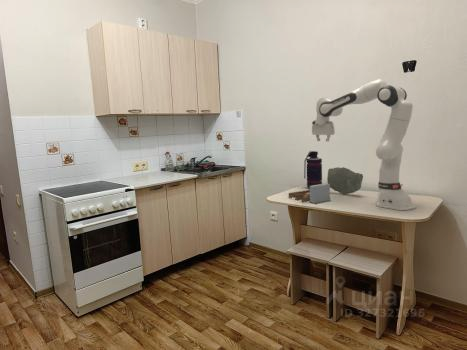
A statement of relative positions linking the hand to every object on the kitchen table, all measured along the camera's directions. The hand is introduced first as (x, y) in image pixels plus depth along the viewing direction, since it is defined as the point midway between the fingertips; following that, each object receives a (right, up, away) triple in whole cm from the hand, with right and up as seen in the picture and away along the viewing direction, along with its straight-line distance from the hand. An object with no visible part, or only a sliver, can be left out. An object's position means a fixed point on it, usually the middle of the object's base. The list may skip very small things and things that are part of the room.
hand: (323, 141), depth 234 cm
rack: (-13, -41, -3) cm, 43 cm away
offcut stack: (-11, -41, -6) cm, 43 cm away
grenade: (+1, -35, +31) cm, 47 cm away
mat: (-6, -42, -14) cm, 45 cm away
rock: (+17, -39, +3) cm, 42 cm away
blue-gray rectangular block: (-6, -42, -15) cm, 45 cm away
